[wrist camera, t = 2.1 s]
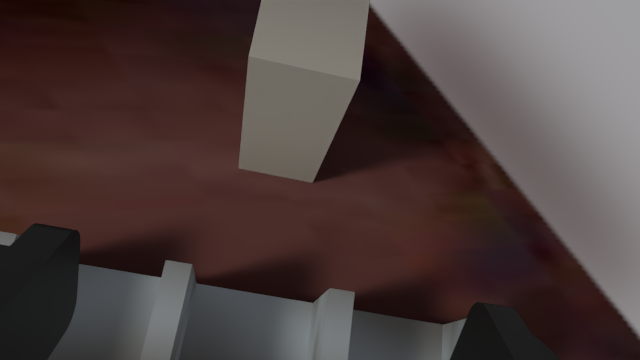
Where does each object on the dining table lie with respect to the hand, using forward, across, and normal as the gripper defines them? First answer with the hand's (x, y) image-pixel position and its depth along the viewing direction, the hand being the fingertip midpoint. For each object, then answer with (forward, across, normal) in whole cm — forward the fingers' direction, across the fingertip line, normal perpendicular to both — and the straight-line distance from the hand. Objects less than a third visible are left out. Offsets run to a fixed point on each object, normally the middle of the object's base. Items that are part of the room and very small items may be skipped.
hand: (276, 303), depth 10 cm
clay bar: (+18, 0, +2) cm, 18 cm away
